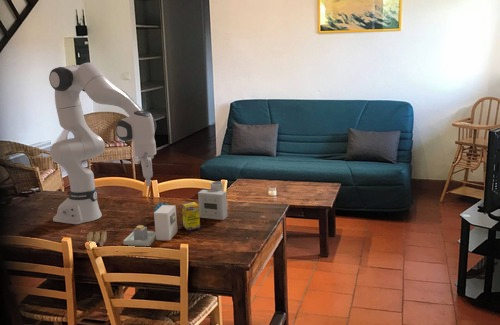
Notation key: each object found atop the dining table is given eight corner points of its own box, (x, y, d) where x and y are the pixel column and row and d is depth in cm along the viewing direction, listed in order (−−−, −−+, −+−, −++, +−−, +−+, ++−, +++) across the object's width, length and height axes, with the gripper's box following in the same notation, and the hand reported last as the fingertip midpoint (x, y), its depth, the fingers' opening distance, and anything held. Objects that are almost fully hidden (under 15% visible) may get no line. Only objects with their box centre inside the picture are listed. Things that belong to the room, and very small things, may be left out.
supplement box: (188, 231, 228) (186, 207, 226) (183, 227, 234) (181, 203, 231) (200, 228, 231) (199, 205, 228) (195, 224, 236) (194, 201, 234)
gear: (159, 221, 237) (152, 203, 241) (154, 228, 240) (147, 209, 244) (180, 218, 244) (173, 200, 248) (175, 225, 247) (168, 207, 252)
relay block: (134, 240, 219) (133, 227, 217) (139, 237, 222) (138, 224, 221) (142, 241, 217) (141, 228, 216) (147, 238, 221) (146, 225, 219)
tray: (123, 245, 216) (123, 240, 215) (134, 235, 226) (133, 230, 226) (148, 246, 214) (148, 241, 213) (158, 236, 224) (158, 231, 224)
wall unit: (154, 239, 220) (152, 212, 217) (163, 231, 230) (161, 205, 227) (171, 240, 219) (169, 213, 216) (179, 231, 228) (177, 205, 225)
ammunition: (89, 230, 221) (83, 238, 213) (106, 230, 221) (101, 237, 213) (90, 241, 222) (84, 249, 214) (107, 240, 222) (103, 248, 214)
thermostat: (199, 217, 245) (197, 186, 241) (212, 207, 258) (211, 178, 254) (223, 220, 240) (221, 188, 237) (235, 210, 253) (234, 180, 249)
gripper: (154, 155, 208) (157, 188, 211) (151, 144, 227) (154, 175, 230) (138, 156, 206) (141, 190, 210) (136, 145, 225) (139, 176, 229)
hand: (147, 182), depth 220 cm, fingers open, 8 cm apart
